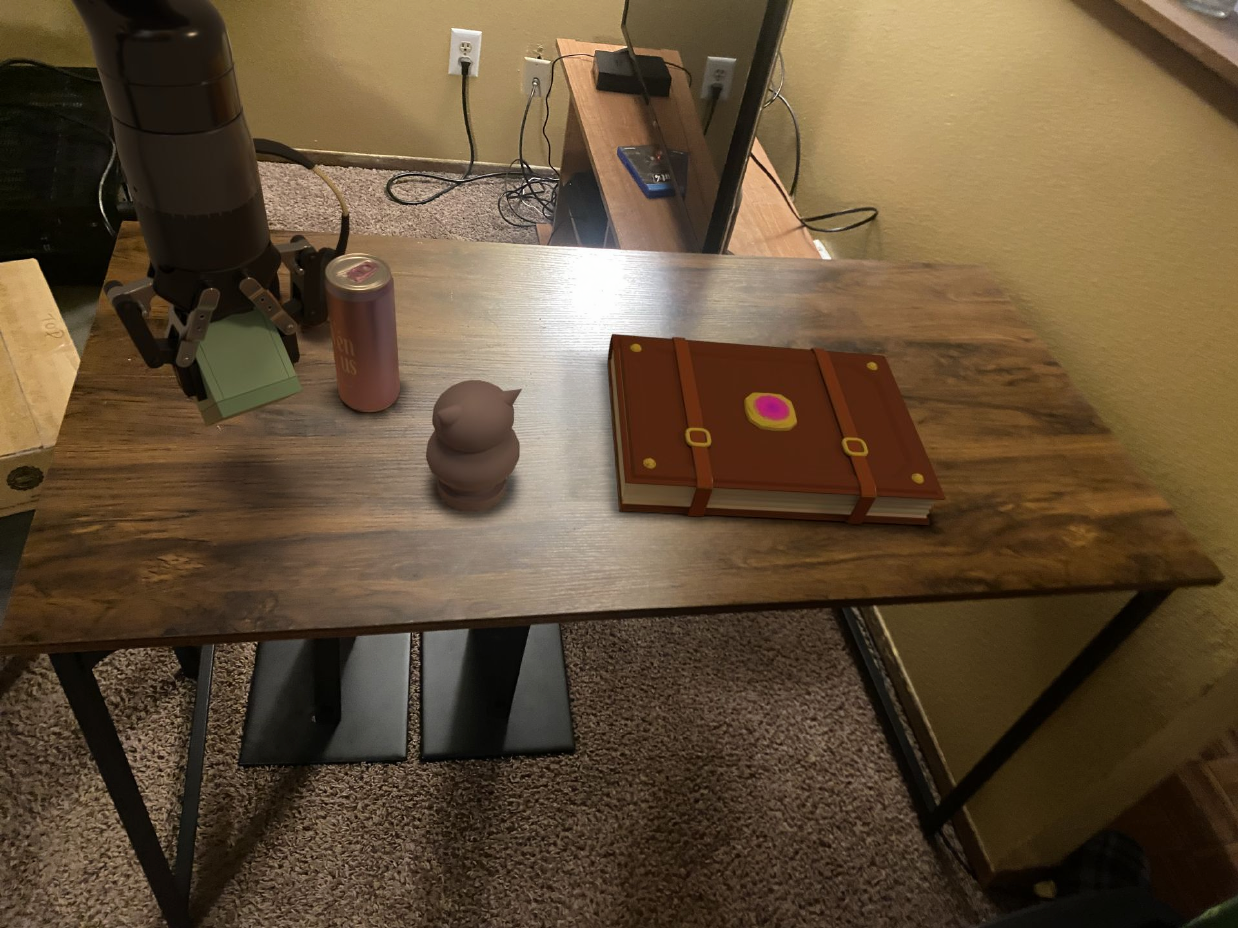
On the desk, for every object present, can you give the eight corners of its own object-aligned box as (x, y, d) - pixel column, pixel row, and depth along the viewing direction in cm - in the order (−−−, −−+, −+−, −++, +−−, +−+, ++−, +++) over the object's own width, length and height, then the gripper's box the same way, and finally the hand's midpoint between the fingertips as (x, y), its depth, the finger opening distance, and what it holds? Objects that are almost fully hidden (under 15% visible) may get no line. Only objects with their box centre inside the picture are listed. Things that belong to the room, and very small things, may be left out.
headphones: (233, 283, 93) (193, 108, 79) (367, 299, 95) (353, 131, 81) (207, 331, 88) (159, 151, 73) (351, 347, 89) (332, 175, 75)
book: (928, 528, 84) (950, 496, 80) (619, 513, 79) (627, 478, 75) (868, 377, 99) (884, 345, 96) (606, 358, 94) (613, 322, 91)
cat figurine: (493, 443, 83) (499, 350, 74) (532, 498, 79) (542, 406, 70) (412, 471, 79) (408, 376, 70) (448, 530, 75) (449, 436, 66)
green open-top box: (163, 332, 66) (175, 311, 58) (239, 311, 69) (260, 288, 62) (206, 426, 67) (222, 418, 60) (279, 401, 71) (303, 390, 63)
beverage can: (412, 393, 86) (407, 270, 75) (370, 424, 82) (358, 299, 71) (369, 367, 88) (358, 243, 77) (326, 396, 84) (307, 270, 73)
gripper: (87, 236, 46) (162, 444, 59) (332, 182, 54) (353, 377, 66) (47, 173, 50) (126, 382, 62) (281, 130, 57) (311, 325, 69)
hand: (243, 379), depth 64 cm, fingers closed on green open-top box, 6 cm apart
